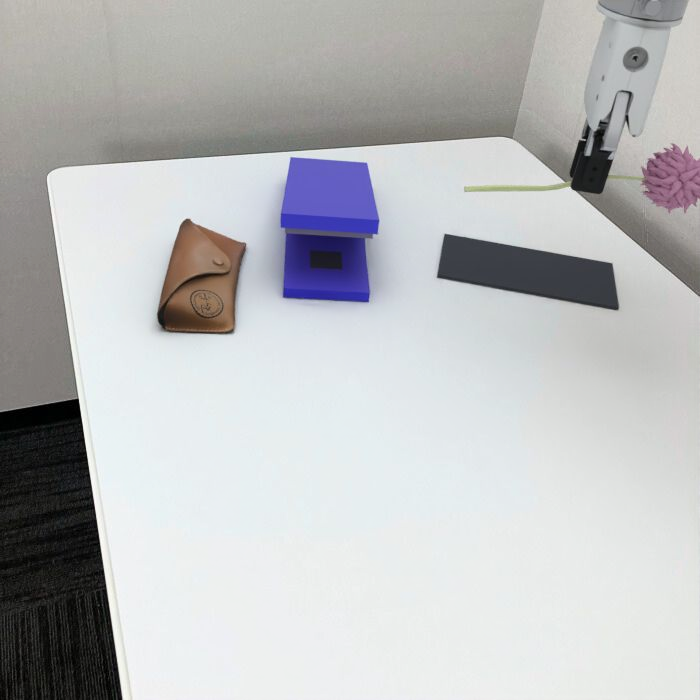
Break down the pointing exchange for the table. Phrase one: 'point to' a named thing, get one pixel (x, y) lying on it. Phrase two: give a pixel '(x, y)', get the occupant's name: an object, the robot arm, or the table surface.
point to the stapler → (327, 229)
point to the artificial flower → (645, 180)
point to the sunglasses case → (200, 282)
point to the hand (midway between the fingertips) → (585, 183)
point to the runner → (528, 271)
